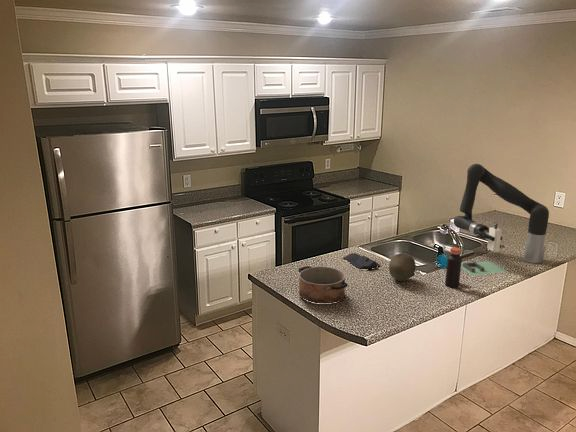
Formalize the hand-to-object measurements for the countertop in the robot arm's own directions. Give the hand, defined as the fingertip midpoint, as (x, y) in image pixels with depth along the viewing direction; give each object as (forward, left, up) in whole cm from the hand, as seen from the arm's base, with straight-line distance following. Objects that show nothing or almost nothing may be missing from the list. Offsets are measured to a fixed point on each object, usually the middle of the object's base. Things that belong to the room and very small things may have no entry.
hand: (497, 239), depth 248 cm
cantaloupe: (+56, +1, -19) cm, 59 cm away
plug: (0, -3, -7) cm, 8 cm away
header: (+11, -4, -18) cm, 21 cm away
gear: (+24, -10, -19) cm, 32 cm away
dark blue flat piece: (+68, -27, -20) cm, 76 cm away
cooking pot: (+102, +9, -19) cm, 104 cm away
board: (+6, -3, -19) cm, 20 cm away
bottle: (+33, +12, -19) cm, 40 cm away
